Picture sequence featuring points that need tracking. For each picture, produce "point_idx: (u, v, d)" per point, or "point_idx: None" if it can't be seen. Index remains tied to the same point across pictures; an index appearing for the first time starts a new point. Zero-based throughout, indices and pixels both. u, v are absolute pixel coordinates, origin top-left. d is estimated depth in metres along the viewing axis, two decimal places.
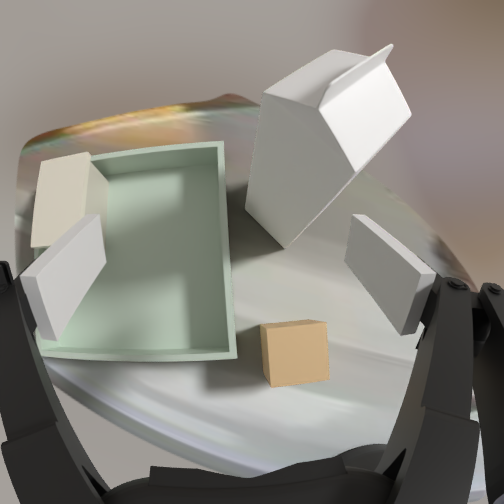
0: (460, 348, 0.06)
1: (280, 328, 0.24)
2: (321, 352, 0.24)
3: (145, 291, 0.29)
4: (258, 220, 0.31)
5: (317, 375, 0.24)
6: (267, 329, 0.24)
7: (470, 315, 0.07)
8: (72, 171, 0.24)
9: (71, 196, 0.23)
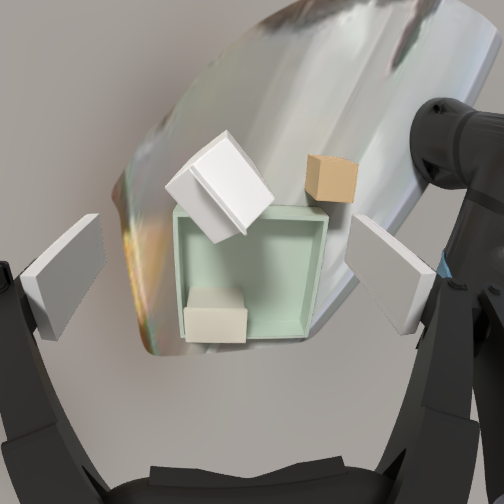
0: (460, 348, 0.06)
1: (318, 191, 0.36)
2: (339, 166, 0.35)
3: (271, 262, 0.46)
4: None
5: (353, 172, 0.35)
6: (316, 199, 0.37)
7: (470, 315, 0.07)
8: (197, 319, 0.41)
9: (215, 318, 0.41)
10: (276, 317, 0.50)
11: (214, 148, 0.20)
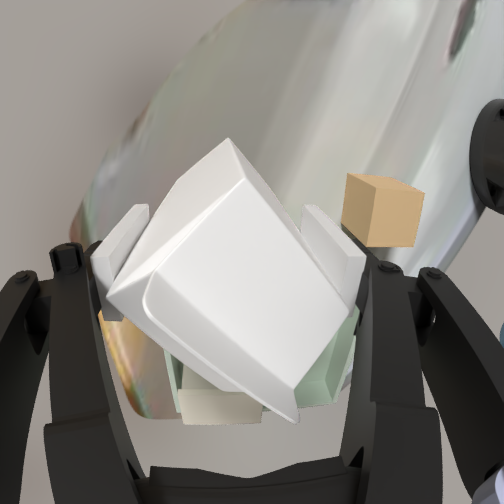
0: (401, 333, 0.07)
1: (369, 234, 0.24)
2: (400, 197, 0.22)
3: None
4: None
5: (417, 204, 0.23)
6: (367, 246, 0.24)
7: (406, 297, 0.08)
8: (196, 403, 0.28)
9: (220, 402, 0.28)
10: None
11: (214, 213, 0.08)
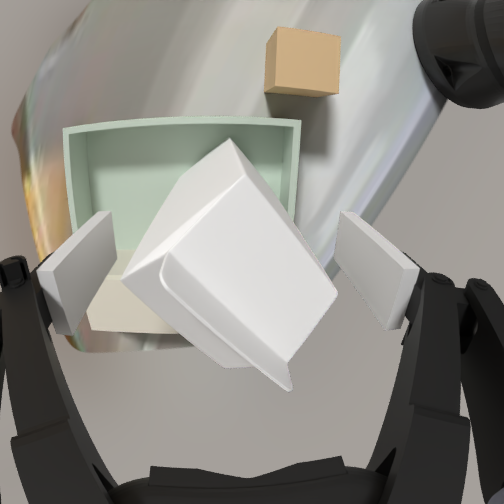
0: (446, 344, 0.06)
1: (276, 72, 0.20)
2: (309, 37, 0.18)
3: None
4: None
5: (333, 46, 0.19)
6: (275, 85, 0.20)
7: (455, 310, 0.08)
8: (99, 293, 0.24)
9: (124, 291, 0.24)
10: None
11: (219, 204, 0.09)
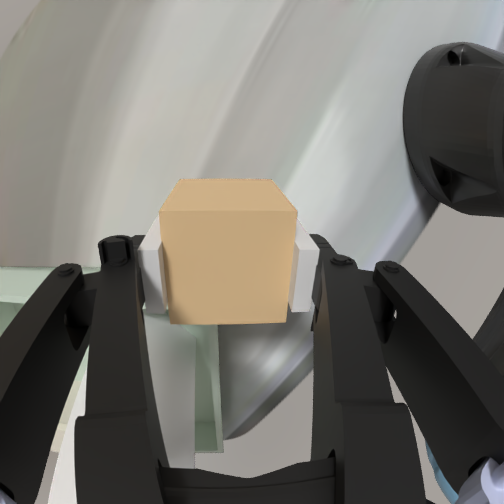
0: (360, 328, 0.07)
1: (169, 302, 0.12)
2: (228, 226, 0.11)
3: None
4: None
5: (280, 237, 0.11)
6: (172, 322, 0.13)
7: (362, 290, 0.09)
8: None
9: None
10: None
11: None
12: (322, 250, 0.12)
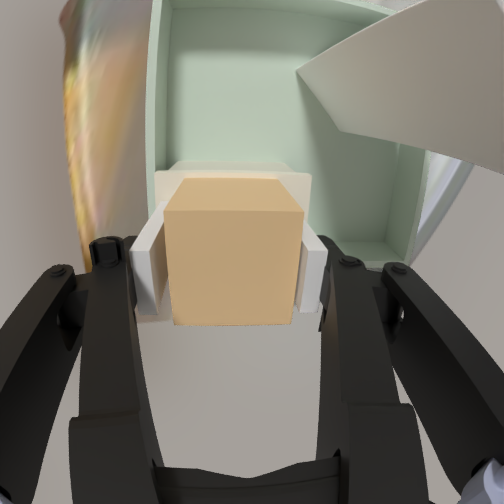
0: (368, 328, 0.07)
1: (173, 303, 0.12)
2: (234, 226, 0.11)
3: None
4: None
5: (287, 238, 0.11)
6: (175, 323, 0.12)
7: (370, 291, 0.09)
8: None
9: None
10: (345, 234, 0.26)
11: None
12: (329, 251, 0.12)
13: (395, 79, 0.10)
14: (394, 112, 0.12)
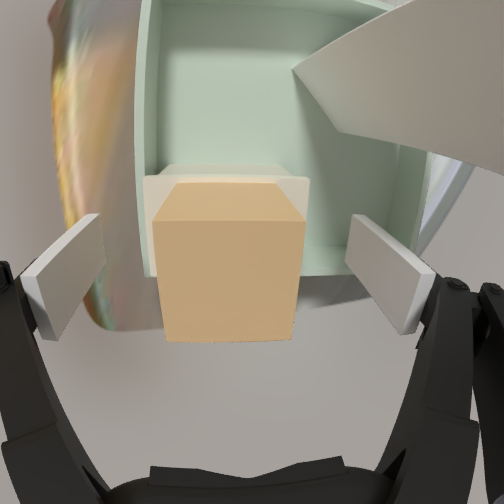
0: (460, 348, 0.06)
1: (165, 319, 0.11)
2: (229, 238, 0.10)
3: None
4: None
5: (287, 250, 0.10)
6: (168, 340, 0.11)
7: (470, 315, 0.07)
8: None
9: None
10: (344, 238, 0.25)
11: None
12: None
13: (401, 77, 0.09)
14: (399, 112, 0.11)
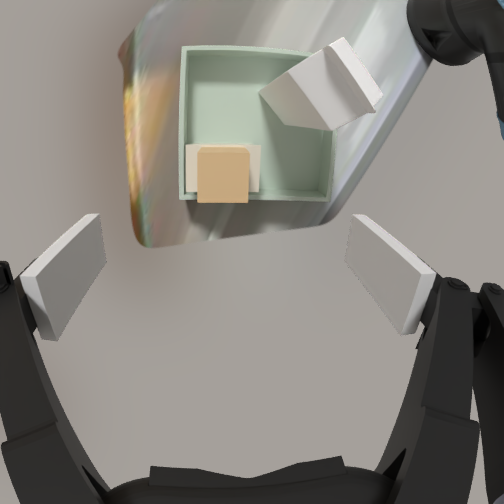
0: (460, 348, 0.06)
1: (198, 191, 0.29)
2: (223, 158, 0.28)
3: None
4: None
5: (243, 163, 0.29)
6: (198, 201, 0.30)
7: (470, 315, 0.07)
8: None
9: None
10: (291, 185, 0.43)
11: (337, 42, 0.18)
12: None
13: (287, 99, 0.27)
14: (293, 113, 0.29)
